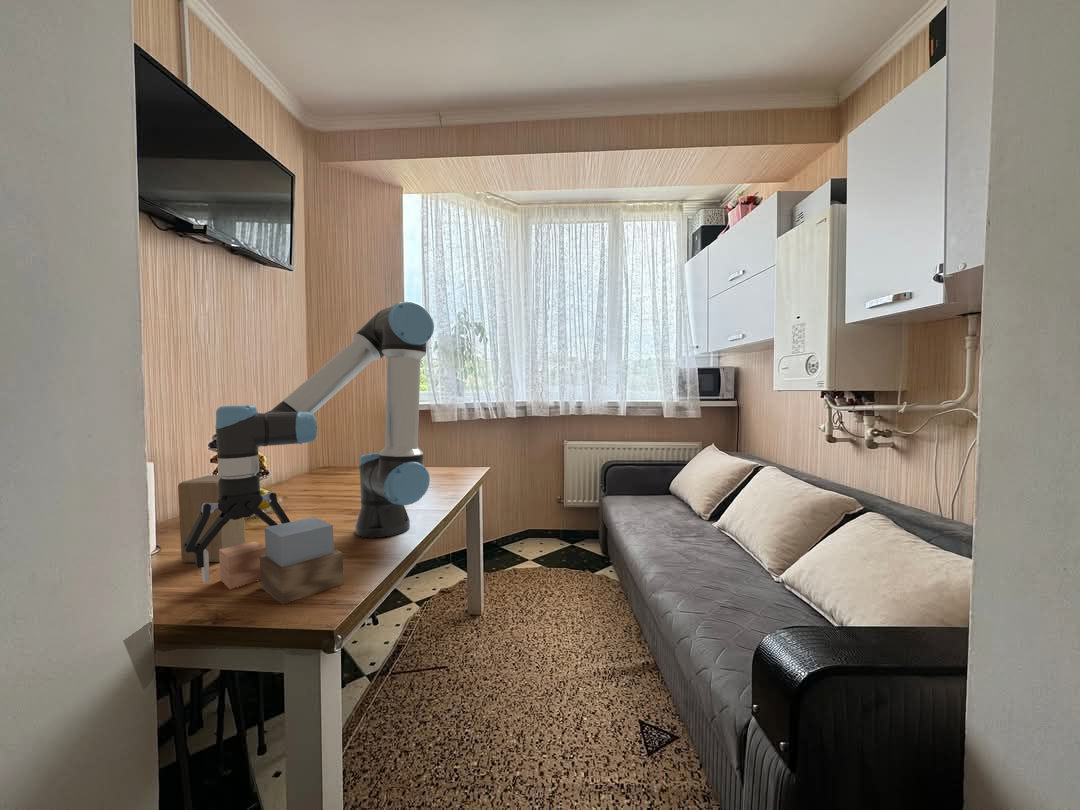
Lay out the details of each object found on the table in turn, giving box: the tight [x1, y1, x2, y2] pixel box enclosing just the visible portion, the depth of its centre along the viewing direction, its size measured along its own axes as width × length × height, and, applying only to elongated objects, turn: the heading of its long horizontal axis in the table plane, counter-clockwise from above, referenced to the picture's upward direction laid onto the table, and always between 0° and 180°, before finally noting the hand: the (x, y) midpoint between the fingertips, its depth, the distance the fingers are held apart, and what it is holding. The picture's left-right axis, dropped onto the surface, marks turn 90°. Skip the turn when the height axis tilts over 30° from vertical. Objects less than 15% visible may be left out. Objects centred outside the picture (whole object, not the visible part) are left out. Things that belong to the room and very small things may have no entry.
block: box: [177, 474, 246, 563], centre depth 115 cm, size 10×10×20 cm
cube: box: [219, 540, 266, 590], centre depth 100 cm, size 7×7×7 cm
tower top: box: [264, 517, 335, 567], centre depth 95 cm, size 10×10×6 cm
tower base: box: [260, 548, 344, 605], centre depth 96 cm, size 12×12×7 cm
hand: (243, 571), depth 100 cm, fingers open, 13 cm apart
